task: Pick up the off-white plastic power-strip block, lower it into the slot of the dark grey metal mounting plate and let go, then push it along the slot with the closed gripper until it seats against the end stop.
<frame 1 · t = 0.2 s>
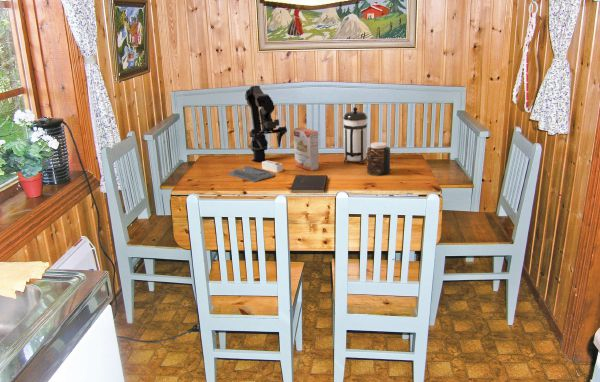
hand: (270, 148, 286), 14 cm above the table, tool tilted 25°, fingers open, 9 cm apart
hardcover book: (309, 186, 270), on the table
coffee press: (355, 162, 307), on the table
power strip: (272, 170, 299), on the table
cracker box: (306, 168, 300), on the table
mount plate: (251, 175, 290), on the table
jar: (378, 172, 287), on the table
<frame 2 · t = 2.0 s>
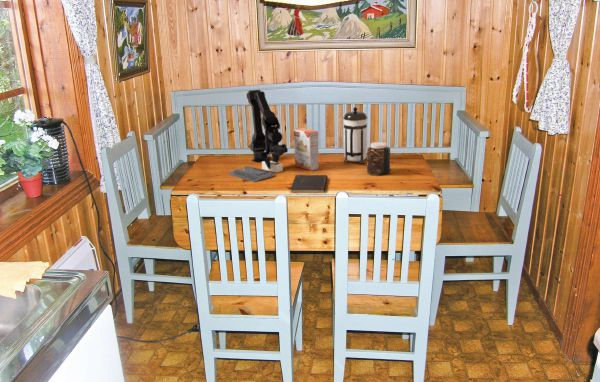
hand: (272, 167, 298), 1 cm above the table, tool pointing down, fingers closed on power strip, 4 cm apart
power strip: (272, 170, 299), on the table, touching gripper
everything else where it was.
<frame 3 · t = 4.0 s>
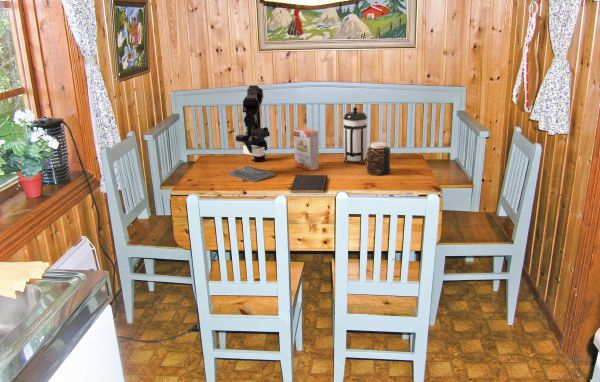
hand: (253, 152, 290), 11 cm above the table, tool pointing down, fingers closed on power strip, 4 cm apart
power strip: (254, 154, 290), point 10 cm above the table, touching gripper
everything else where it was.
when the fingers open (3 cm above the table, at t = 5.9 s): power strip drops 1 cm, resting on mount plate.
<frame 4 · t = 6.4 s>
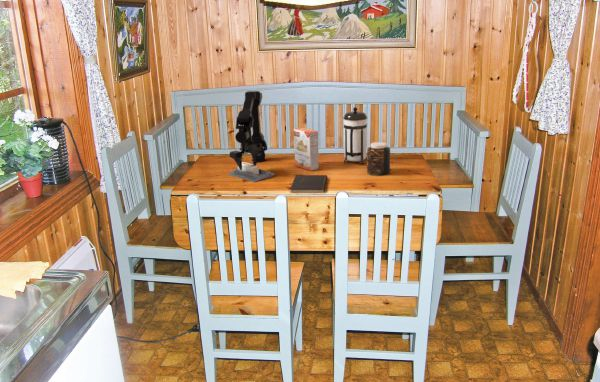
hand: (248, 167, 291), 3 cm above the table, tool pointing down, fingers open, 9 cm apart
power strip: (248, 172, 291), point 1 cm above the table, touching mount plate
everything else where it was.
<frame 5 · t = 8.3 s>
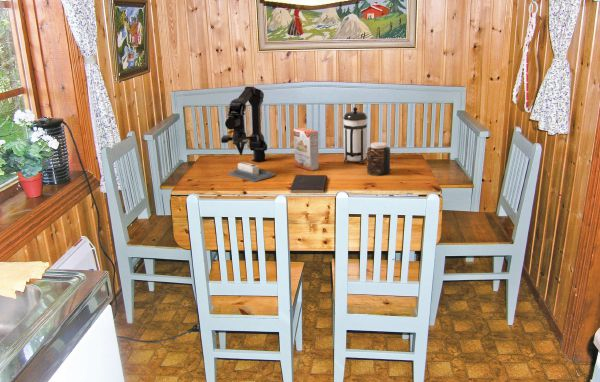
hand: (241, 154, 292), 10 cm above the table, tool pointing down, fingers closed
nothing on the table moved.
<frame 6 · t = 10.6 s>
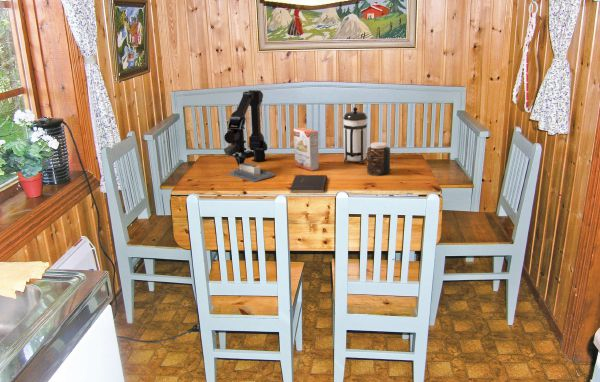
hand: (240, 168, 295), 2 cm above the table, tool pointing down, fingers closed
power strip: (249, 172, 290), point 1 cm above the table, touching gripper
everything else where it was.
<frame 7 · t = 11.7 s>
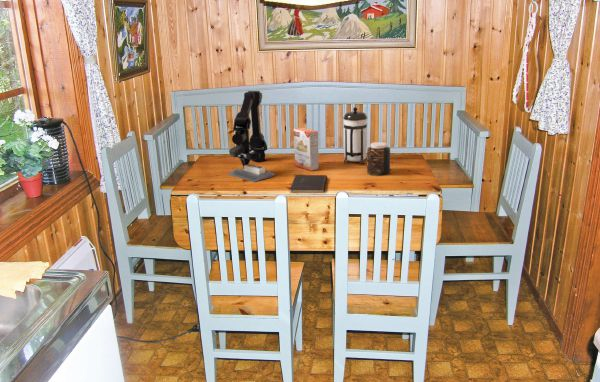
hand: (245, 169, 292), 2 cm above the table, tool pointing down, fingers closed
power strip: (254, 174, 287), point 1 cm above the table, touching gripper, mount plate
everything else where it was.
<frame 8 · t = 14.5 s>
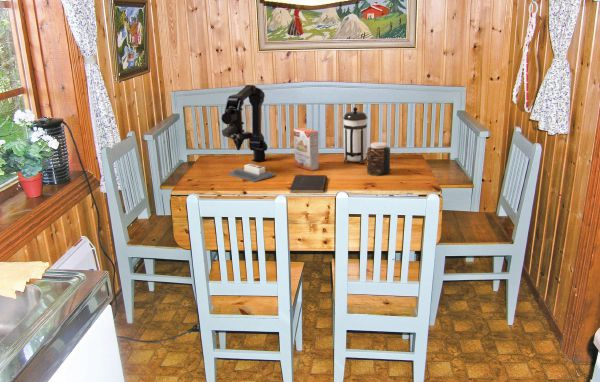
hand: (238, 150, 293), 12 cm above the table, tool pointing down, fingers closed
power strip: (254, 174, 287), point 1 cm above the table, touching mount plate
everything else where it was.
at the end: power strip 0.8 cm from the target spot on the mount plate, point 1.2 cm above the mount plate's base; power strip tilted 0°; the gripper is holding nothing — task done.
